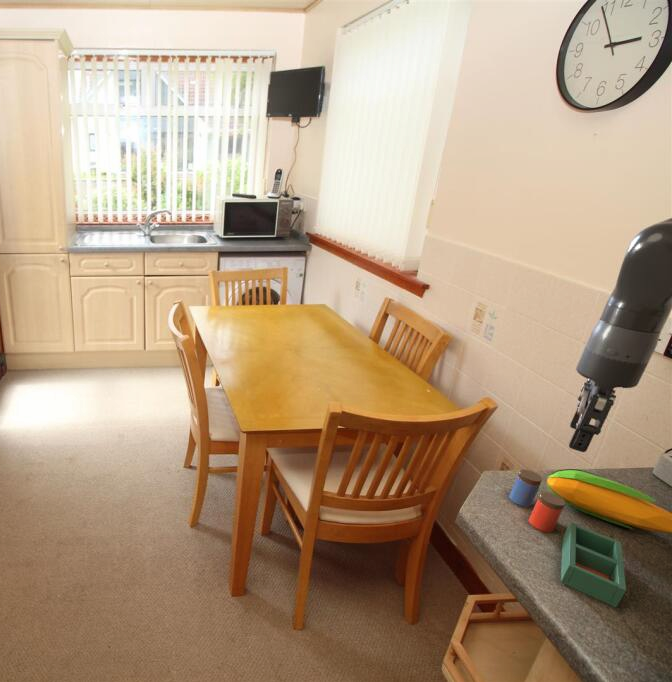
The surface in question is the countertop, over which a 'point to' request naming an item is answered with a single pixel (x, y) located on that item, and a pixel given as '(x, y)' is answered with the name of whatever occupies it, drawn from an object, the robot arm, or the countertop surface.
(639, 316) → the robot arm
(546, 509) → the red pot
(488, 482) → the countertop surface
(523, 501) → the blue and brown cylinder
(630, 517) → the corn
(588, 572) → the caddy
